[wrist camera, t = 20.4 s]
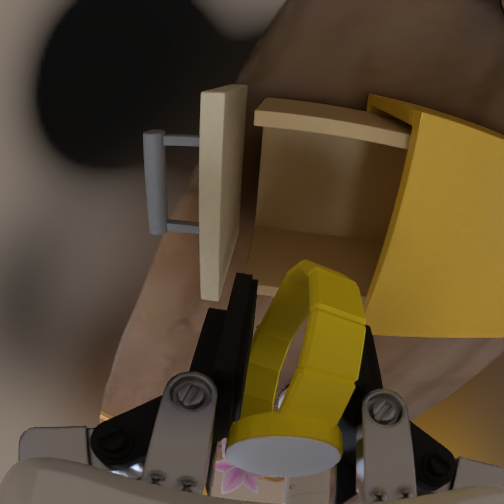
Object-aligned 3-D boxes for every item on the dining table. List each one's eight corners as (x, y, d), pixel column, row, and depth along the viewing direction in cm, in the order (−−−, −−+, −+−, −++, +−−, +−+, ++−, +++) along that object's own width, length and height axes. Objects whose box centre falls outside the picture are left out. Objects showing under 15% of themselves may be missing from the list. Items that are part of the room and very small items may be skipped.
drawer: (175, 227, 28) (136, 289, 21) (173, 83, 21) (117, 94, 14) (387, 252, 27) (415, 321, 20) (421, 114, 20) (480, 140, 13)
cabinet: (339, 246, 28) (357, 334, 19) (368, 93, 21) (421, 111, 12) (476, 265, 28) (521, 337, 19) (517, 141, 20) (593, 185, 11)
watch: (290, 360, 13) (280, 493, 8) (228, 340, 13) (196, 476, 8) (368, 252, 10) (411, 422, 5) (289, 218, 10) (278, 396, 5)
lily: (288, 446, 54) (281, 476, 44) (260, 478, 55) (250, 507, 46) (235, 418, 56) (219, 445, 46) (211, 452, 57) (194, 479, 48)
